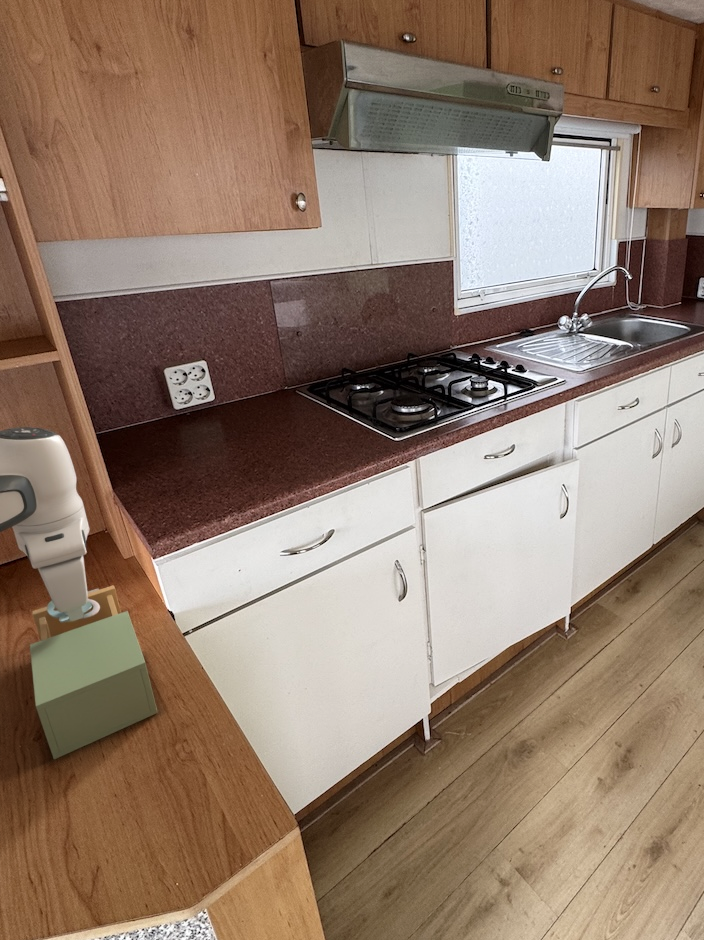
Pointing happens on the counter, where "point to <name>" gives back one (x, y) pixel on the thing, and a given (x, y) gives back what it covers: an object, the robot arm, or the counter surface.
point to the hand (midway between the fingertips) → (73, 604)
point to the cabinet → (90, 683)
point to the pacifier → (64, 615)
